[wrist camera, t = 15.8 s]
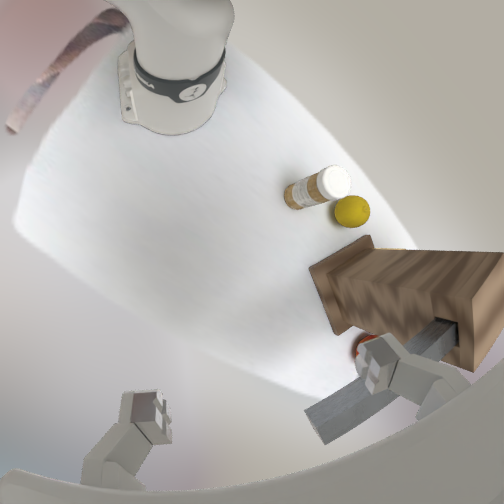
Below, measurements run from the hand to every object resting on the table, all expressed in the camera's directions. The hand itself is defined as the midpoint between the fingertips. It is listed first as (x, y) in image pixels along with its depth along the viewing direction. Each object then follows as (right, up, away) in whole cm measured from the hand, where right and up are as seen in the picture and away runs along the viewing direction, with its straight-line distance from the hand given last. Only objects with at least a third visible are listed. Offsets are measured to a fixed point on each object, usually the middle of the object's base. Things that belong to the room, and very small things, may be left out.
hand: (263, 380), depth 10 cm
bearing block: (+18, -1, +40) cm, 44 cm away
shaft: (+16, -6, +15) cm, 23 cm away
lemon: (+15, +12, +39) cm, 44 cm away
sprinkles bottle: (+7, +14, +37) cm, 40 cm away
